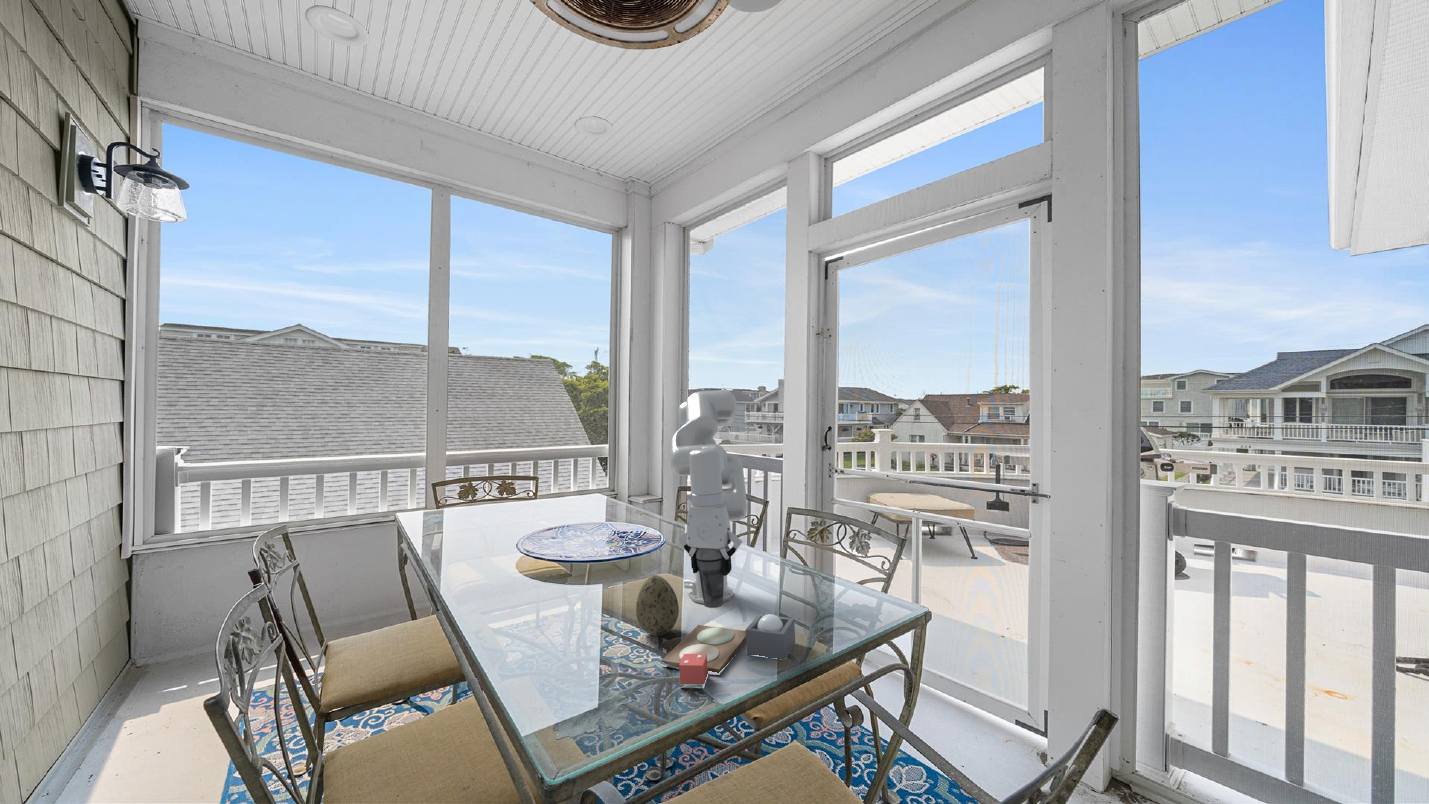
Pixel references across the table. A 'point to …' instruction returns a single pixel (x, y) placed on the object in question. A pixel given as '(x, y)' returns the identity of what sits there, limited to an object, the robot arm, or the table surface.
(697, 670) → the die
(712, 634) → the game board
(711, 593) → the beverage cup
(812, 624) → the table surface
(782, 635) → the housing
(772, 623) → the white ball
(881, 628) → the table surface
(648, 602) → the decorative egg
